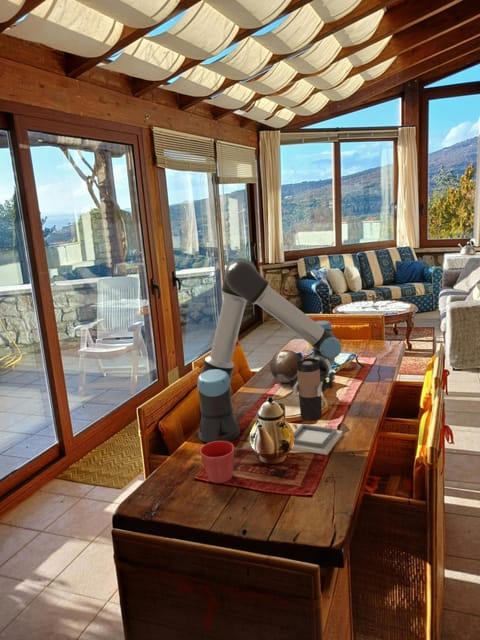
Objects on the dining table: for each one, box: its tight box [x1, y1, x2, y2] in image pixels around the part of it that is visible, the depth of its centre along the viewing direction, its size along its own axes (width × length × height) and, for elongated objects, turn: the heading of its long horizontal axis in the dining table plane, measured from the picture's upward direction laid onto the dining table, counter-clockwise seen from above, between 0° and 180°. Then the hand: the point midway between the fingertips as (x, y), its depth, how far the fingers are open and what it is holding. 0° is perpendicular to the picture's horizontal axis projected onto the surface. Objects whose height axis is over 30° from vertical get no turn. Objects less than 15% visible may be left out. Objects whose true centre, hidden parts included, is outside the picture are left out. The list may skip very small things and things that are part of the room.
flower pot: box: [199, 441, 235, 484], centre depth 161 cm, size 11×11×10 cm
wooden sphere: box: [269, 349, 303, 384], centre depth 238 cm, size 15×15×15 cm
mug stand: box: [292, 424, 343, 456], centre depth 179 cm, size 16×16×2 cm
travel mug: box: [297, 357, 323, 422], centre depth 176 cm, size 8×8×20 cm
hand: (306, 392), depth 171 cm, fingers closed on travel mug, 7 cm apart
